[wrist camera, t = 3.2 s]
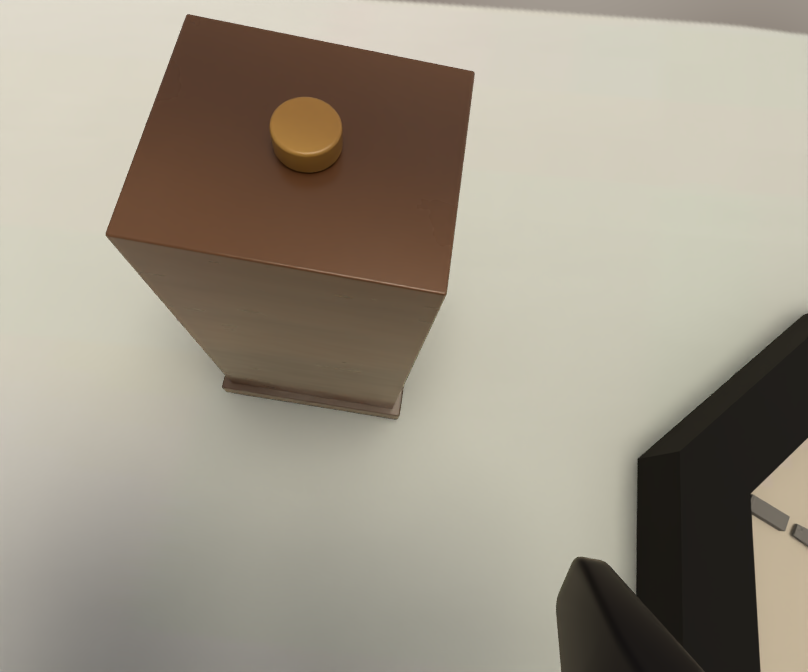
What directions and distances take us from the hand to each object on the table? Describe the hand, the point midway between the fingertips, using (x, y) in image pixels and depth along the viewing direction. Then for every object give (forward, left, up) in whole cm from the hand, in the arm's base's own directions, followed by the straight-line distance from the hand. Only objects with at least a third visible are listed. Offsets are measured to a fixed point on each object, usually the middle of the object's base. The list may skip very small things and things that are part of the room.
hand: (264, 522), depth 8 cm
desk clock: (+5, +5, -13) cm, 15 cm away
